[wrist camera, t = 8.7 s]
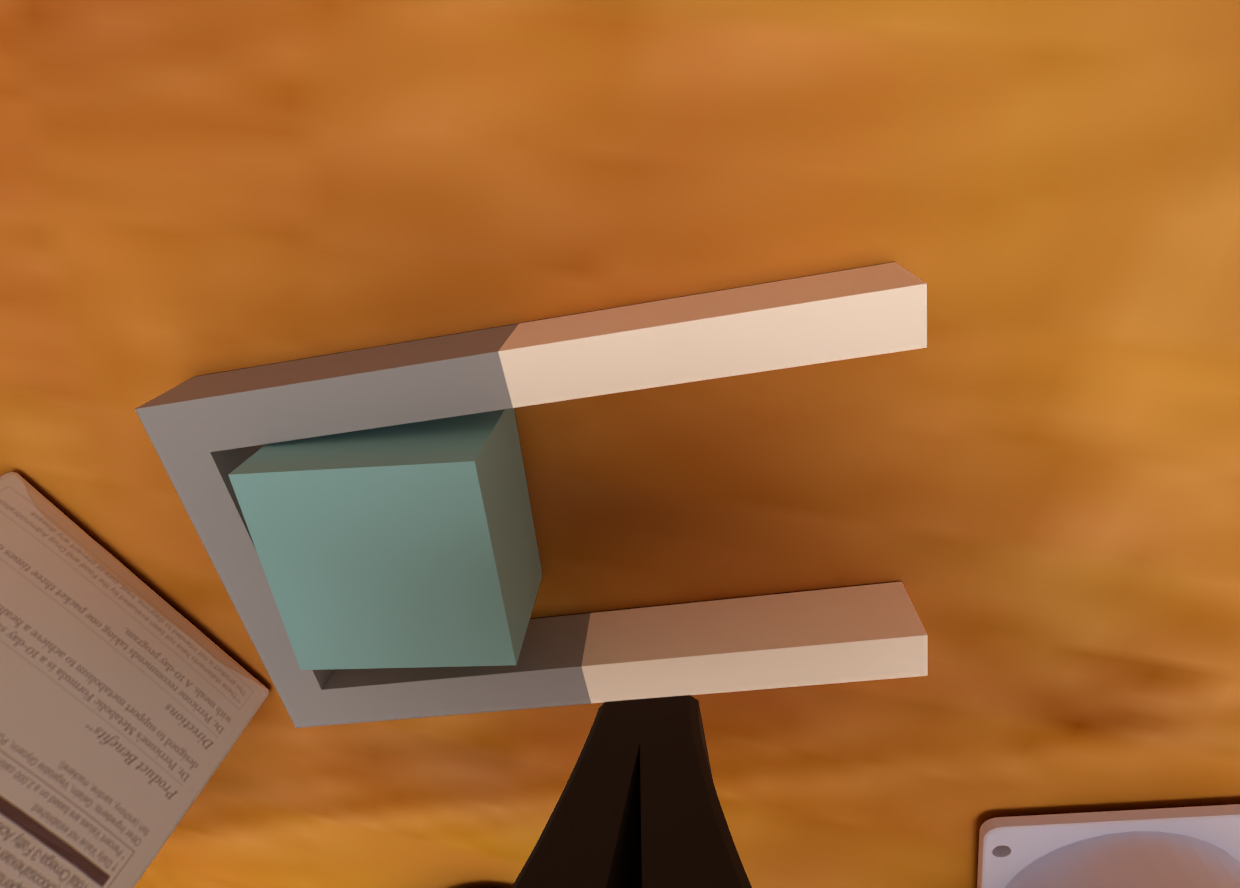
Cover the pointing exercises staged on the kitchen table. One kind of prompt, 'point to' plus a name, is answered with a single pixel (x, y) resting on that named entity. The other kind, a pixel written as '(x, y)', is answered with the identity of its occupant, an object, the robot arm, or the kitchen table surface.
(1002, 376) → the kitchen table surface
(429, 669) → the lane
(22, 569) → the supplement box
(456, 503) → the block
